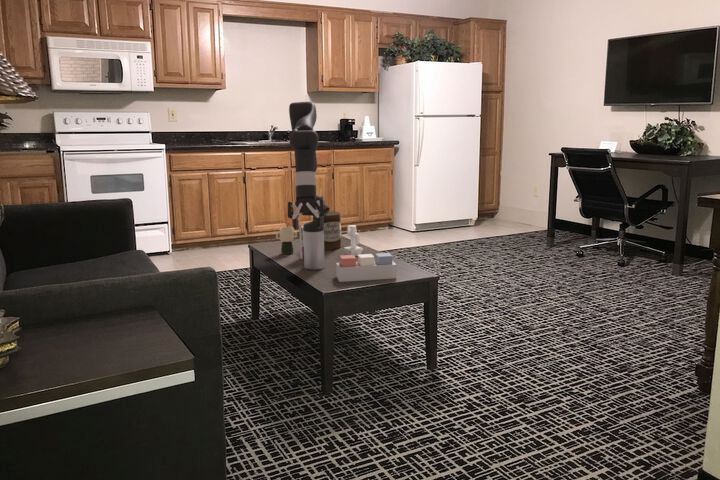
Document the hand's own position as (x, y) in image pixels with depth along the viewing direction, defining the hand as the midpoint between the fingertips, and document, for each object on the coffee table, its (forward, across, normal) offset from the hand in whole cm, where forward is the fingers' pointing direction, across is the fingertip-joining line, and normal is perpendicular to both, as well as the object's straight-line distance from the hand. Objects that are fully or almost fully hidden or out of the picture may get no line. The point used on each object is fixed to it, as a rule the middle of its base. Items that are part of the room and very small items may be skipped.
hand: (307, 229), depth 214 cm
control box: (+20, -9, -42) cm, 47 cm away
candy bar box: (+12, +26, -67) cm, 73 cm away
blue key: (+16, -16, -44) cm, 50 cm away
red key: (+16, -3, -37) cm, 40 cm away
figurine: (+11, +8, -79) cm, 80 cm away
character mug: (+9, +41, -73) cm, 84 cm away
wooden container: (+6, +27, -93) cm, 97 cm away
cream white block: (+16, -10, -41) cm, 45 cm away
